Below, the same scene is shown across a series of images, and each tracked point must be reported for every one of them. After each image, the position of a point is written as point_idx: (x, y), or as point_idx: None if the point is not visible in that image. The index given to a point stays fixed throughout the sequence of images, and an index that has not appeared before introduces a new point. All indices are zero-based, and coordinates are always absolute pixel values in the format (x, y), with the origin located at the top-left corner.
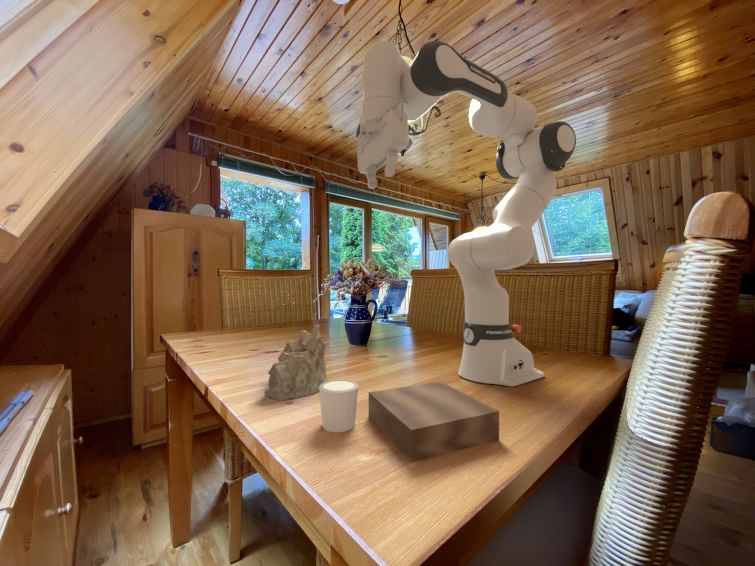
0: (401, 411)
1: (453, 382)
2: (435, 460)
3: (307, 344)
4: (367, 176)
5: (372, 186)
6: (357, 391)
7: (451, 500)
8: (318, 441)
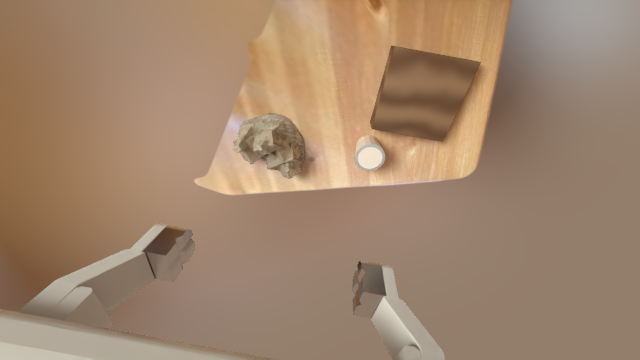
0: (418, 129)
1: None
2: None
3: (270, 151)
4: (119, 300)
5: (192, 244)
6: (381, 147)
7: (471, 138)
8: None
